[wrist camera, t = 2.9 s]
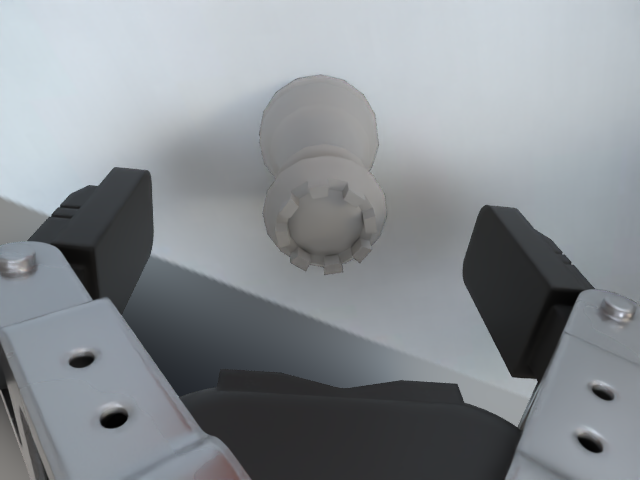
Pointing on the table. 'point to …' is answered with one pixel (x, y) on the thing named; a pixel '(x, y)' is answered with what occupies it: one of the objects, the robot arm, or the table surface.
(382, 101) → the table surface
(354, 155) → the rook chess piece
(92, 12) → the table surface
